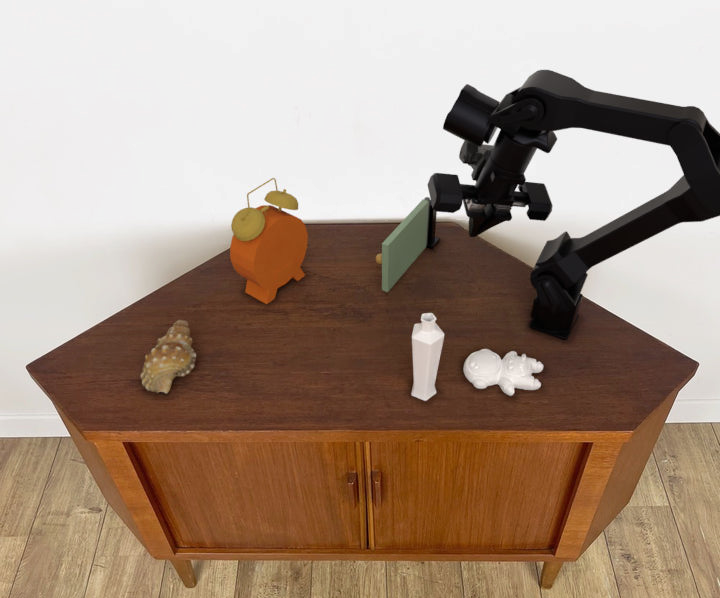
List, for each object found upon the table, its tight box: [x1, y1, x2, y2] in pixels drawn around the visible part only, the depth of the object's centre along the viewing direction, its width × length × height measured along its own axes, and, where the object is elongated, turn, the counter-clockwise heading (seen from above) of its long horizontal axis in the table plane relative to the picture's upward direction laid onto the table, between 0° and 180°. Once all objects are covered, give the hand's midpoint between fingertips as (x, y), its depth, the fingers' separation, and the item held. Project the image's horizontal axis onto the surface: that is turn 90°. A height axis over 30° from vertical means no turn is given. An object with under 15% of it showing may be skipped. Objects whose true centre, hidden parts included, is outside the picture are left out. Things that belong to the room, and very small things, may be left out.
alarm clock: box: [229, 177, 309, 305], centre depth 113 cm, size 13×6×20 cm, turn 141°
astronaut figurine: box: [462, 348, 544, 397], centre depth 102 cm, size 9×12×3 cm
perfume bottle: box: [410, 312, 445, 402], centre depth 96 cm, size 5×4×15 cm
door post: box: [425, 199, 440, 251], centre depth 124 cm, size 3×3×9 cm
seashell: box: [140, 319, 197, 395], centre depth 104 cm, size 9×8×10 cm
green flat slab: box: [375, 196, 431, 293], centre depth 118 cm, size 16×3×10 cm, turn 150°
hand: (471, 235), depth 108 cm, fingers closed
